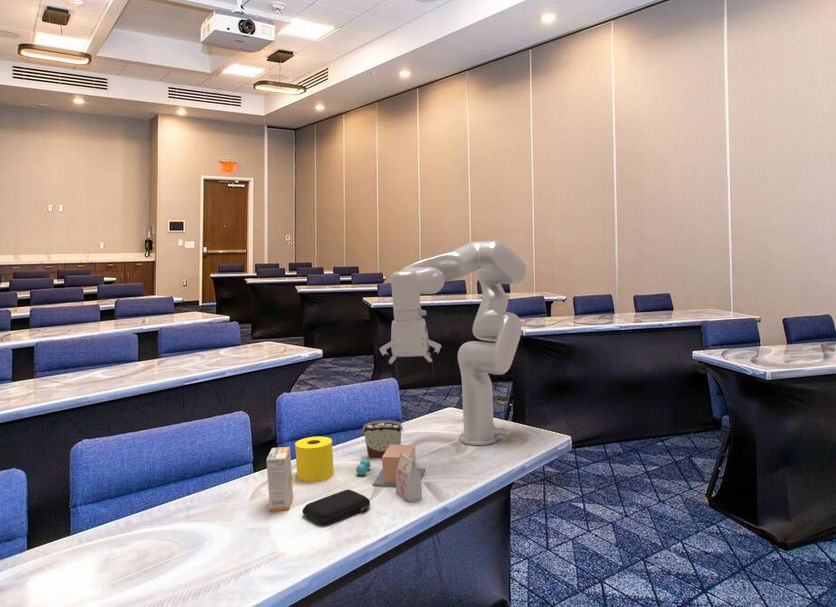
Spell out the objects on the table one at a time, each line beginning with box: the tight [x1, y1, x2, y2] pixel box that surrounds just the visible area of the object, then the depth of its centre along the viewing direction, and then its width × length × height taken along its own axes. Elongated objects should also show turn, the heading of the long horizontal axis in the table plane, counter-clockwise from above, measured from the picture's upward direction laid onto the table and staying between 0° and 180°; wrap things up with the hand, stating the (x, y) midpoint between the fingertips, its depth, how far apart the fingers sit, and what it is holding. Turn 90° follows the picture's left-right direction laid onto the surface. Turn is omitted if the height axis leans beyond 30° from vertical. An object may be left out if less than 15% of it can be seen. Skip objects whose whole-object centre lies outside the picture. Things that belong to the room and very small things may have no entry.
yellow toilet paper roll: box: [294, 436, 335, 483], centre depth 163 cm, size 10×10×9 cm
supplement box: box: [265, 446, 294, 512], centre depth 145 cm, size 8×5×13 cm, turn 5°
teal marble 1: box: [359, 458, 371, 470], centre depth 166 cm, size 3×3×3 cm
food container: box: [361, 419, 404, 460], centre depth 177 cm, size 12×6×10 cm, turn 84°
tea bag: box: [395, 454, 423, 503], centre depth 147 cm, size 4×7×10 cm, turn 28°
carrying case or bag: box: [302, 489, 371, 526], centre depth 139 cm, size 11×3×15 cm
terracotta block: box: [381, 444, 417, 483], centre depth 159 cm, size 7×10×7 cm
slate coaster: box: [372, 467, 426, 488], centre depth 159 cm, size 12×12×1 cm
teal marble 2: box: [355, 463, 368, 476], centre depth 162 cm, size 3×3×3 cm
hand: (412, 375), depth 165 cm, fingers open, 9 cm apart
